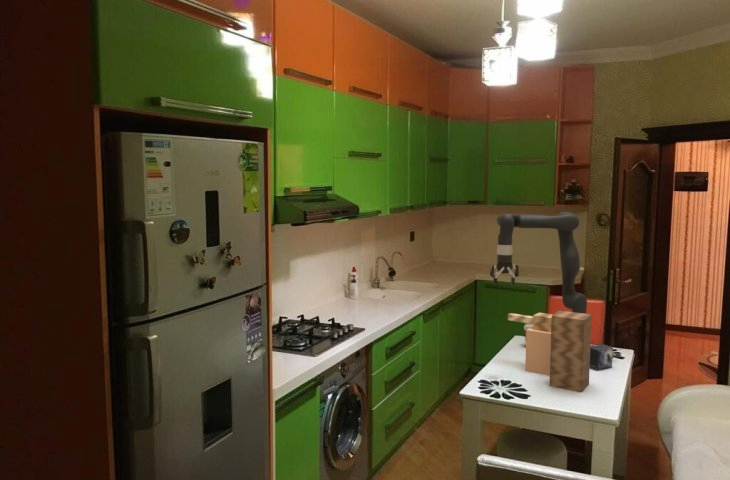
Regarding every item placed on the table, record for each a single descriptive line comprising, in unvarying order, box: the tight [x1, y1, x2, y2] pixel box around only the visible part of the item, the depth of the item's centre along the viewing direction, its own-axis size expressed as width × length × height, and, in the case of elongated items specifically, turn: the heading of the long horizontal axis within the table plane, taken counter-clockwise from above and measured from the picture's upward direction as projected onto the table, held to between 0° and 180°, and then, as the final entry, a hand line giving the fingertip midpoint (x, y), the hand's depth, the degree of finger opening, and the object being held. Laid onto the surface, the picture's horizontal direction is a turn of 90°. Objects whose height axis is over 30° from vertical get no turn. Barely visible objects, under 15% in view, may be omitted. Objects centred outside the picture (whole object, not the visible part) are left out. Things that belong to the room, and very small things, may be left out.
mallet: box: [507, 312, 554, 333], centre depth 280 cm, size 23×7×7 cm, turn 50°
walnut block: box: [549, 310, 593, 393], centre depth 256 cm, size 14×12×32 cm
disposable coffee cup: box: [523, 323, 533, 341], centre depth 314 cm, size 10×10×12 cm
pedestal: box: [524, 326, 551, 376], centre depth 277 cm, size 14×12×20 cm
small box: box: [590, 343, 614, 372], centre depth 280 cm, size 11×6×10 cm, turn 117°
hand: (504, 285), depth 292 cm, fingers open, 8 cm apart
